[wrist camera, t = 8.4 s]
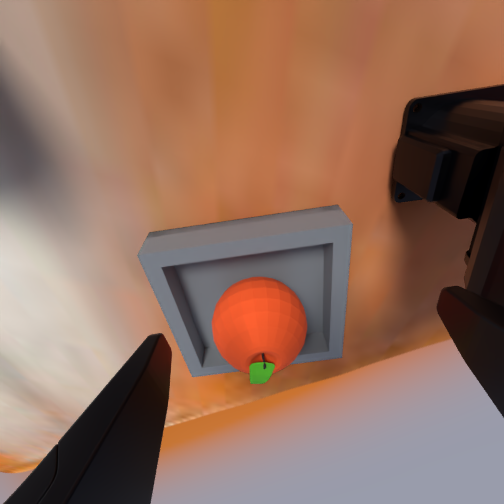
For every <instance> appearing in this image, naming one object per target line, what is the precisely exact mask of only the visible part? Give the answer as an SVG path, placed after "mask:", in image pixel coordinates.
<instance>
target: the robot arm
mask: <svg viewBox="0 0 504 504" xmlns="http://www.w3.org/2000/svg"><path fill="white" fill-rule="evenodd" d="M416 104H418V108H417V110H416V111H415V112H413V108H414V106H415V105H416ZM392 177H393V178H394V182H393V189H392V199H393V200H394V201H396V202H398V203H401V202H408V201H415V200H422V199H424V200H426V201H427V202H433V203H435V204H436V205H438V206H439V207H441V208H442V209H444V210H445V211H447V212H449V213H450V214H452V215H453V216H455V217H456V218H458V219H465V218H468V219H470V220H471V221H473V222H474V223H476V227H475V231H474V234H473V238H472V241H471V245H470V249H469V250H468V251H467V252H466V255H465V258H464V261H465V263H466V265H467V269H466V272H465V276H464V281H465V287H466V289H464V288H462V287H459V286H451V287H445V288H443V289H442V290H441V293H440V296H439V300H438V303H437V312H438V314H439V316H440V318H441V320H442V322H443V323H444V325H445V327H446V329H447V331H448V332H449V334H450V336H451V338H452V340H453V341H454V343H455V345H456V347H457V349H458V351H459V352H460V354H461V356H462V357H463V359H464V360H465V362H466V364H467V365H468V367H469V368H470V369H471V371H472V372H473V374H474V375H475V377H476V378H477V380H478V381H479V383H480V384H481V385H482V387H483V388H484V390H485V391H486V392H487V394H488V396H489V397H490V398H491V400H492V401H493V403H494V404H495V405H496V407H497V409H498V410H499V411H500V413H501V414H502V416H503V417H504V84H501V85H494V86H488V87H482V88H475V89H469V90H462V91H456V92H450V93H443V94H437V95H431V96H424V97H418V98H414V99H412V100H410V101H409V102H408V104H407V105H406V108H405V114H404V120H403V126H402V133H401V137H400V138H399V140H398V144H397V150H396V156H395V163H394V169H393V176H392ZM400 193H402V195H401V196H400V197H398V195H399V194H400ZM171 360H172V351H171V348H170V346H169V344H168V342H167V340H166V338H165V337H164V335H163V334H162V333H158V334H152V335H149V336H148V337H147V338H146V339H145V340H144V342H143V343H142V344H141V345H140V346H139V348H138V349H137V350H136V351H135V352H134V353H133V355H132V356H131V357H130V358H129V359H128V360H127V362H126V363H125V364H124V365H123V366H122V368H121V369H120V370H119V371H118V372H117V373H116V375H115V376H114V377H113V378H112V379H111V380H110V382H109V383H108V384H107V385H106V386H105V387H104V389H103V390H102V391H101V392H100V393H99V395H98V396H97V397H96V398H95V399H94V400H93V402H92V403H91V404H90V405H89V406H88V407H87V409H86V410H85V411H84V412H83V413H82V415H81V416H80V417H79V418H78V419H77V420H76V422H75V423H74V424H73V425H72V426H71V427H70V429H69V430H68V431H67V432H66V433H65V435H64V436H63V437H62V438H61V439H60V440H59V442H58V444H56V445H55V446H54V447H53V448H52V450H51V451H50V452H49V453H48V454H47V456H46V457H45V458H44V459H43V460H42V461H41V462H40V464H39V465H38V466H37V467H36V468H35V469H34V470H33V472H32V473H31V474H30V475H29V476H28V477H27V479H26V480H25V481H24V482H23V483H22V484H21V485H20V486H19V487H18V488H17V490H16V491H15V492H14V493H13V494H12V495H11V496H10V497H9V498H8V499H7V500H6V501H5V502H4V503H3V504H150V503H151V497H152V492H153V486H154V480H155V475H156V469H157V464H158V458H159V452H160V447H161V441H162V436H163V430H164V424H165V419H166V413H167V407H168V400H169V388H170V374H171Z"/></svg>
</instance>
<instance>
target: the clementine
mask: <svg viewBox="0 0 504 504" xmlns="http://www.w3.org/2000/svg"><path fill="white" fill-rule="evenodd" d="M212 332H213V339H214V342H215V344H216V346H217V349H218V350H219V352H220V354H221V356H222V357H223V358H224V359H225V360H226V361H227V362H228V363H229V364H230V365H231V366H233V367H234V368H235V369H237V370H239V371H241V372H245V373H248V374H250V382H251V384H263V383H265V382H267V381H268V380H269V378H270V377H271V375H272V374H273V373H276V372H278V371H280V370H282V369H283V368H285V367H287V366H288V365H290V364H291V363H292V362H293V361H294V360H295V359H296V357H297V356H298V354H299V353H300V351H301V349H302V347H303V345H304V343H305V338H306V333H307V320H306V314H305V310H304V307H303V305H302V303H301V301H300V300H299V298H298V297H297V295H296V294H295V292H294V291H292V290H291V289H290V288H289V287H287V286H286V285H285V284H284V283H282V282H280V281H278V280H275V279H273V278H267V277H251V278H247V279H243V280H241V281H239V282H237V283H235V284H233V285H231V286H230V287H229V288H228V289H227V290H226V291H225V292H224V293H223V295H222V296H221V298H220V299H219V301H218V302H217V304H216V306H215V310H214V314H213V318H212Z"/></svg>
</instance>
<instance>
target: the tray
mask: <svg viewBox="0 0 504 504" xmlns="http://www.w3.org/2000/svg"><path fill="white" fill-rule="evenodd" d="M352 228H353V224H352V222H351V221H350V220H349V218H348V217H347V216H346V215H345V213H344V212H343V211H342V209H341V208H340V207H339V206H338V205H333V206H326V207H319V208H312V209H306V210H299V211H292V212H285V213H278V214H272V215H265V216H258V217H251V218H244V219H238V220H231V221H224V222H217V223H210V224H204V225H197V226H190V227H183V228H176V229H170V230H163V231H156V232H149V234H148V236H147V238H146V240H145V241H144V243H143V245H142V247H141V249H140V251H139V253H138V255H137V256H138V258H139V260H140V262H141V265H142V267H143V269H144V271H145V274H146V276H147V278H148V280H149V282H150V285H151V287H152V289H153V291H154V293H155V296H156V298H157V300H158V302H159V304H160V307H161V309H162V311H163V313H164V316H165V318H166V320H167V322H168V324H169V327H170V329H171V331H172V333H173V335H174V338H175V340H176V342H177V344H178V347H179V349H180V351H181V353H182V355H183V358H184V360H185V362H186V364H187V366H188V369H189V371H190V373H191V375H192V377H198V376H206V375H213V374H221V373H229V372H236V371H239V370H237V369H235V368H234V367H233V366H231V365H230V364H229V363H228V362H227V361H226V360H225V359H224V358H223V357H222V356H221V354H220V352H219V350H218V349H217V346H216V344H215V342H214V339H213V332H212V318H213V314H214V310H215V306H216V304H217V302H218V301H219V299H220V298H221V296H222V295H223V293H224V292H225V291H226V290H227V289H228V288H229V287H230V286H231V285H233V284H235V283H237V282H239V281H241V280H243V279H247V278H251V277H267V278H273V279H275V280H278V281H280V282H282V283H284V284H285V285H286V286H287V287H289V288H290V289H291V290H292V291H294V292H295V294H296V295H297V297H298V298H299V300H300V301H301V303H302V305H303V307H304V310H305V314H306V320H307V333H306V338H305V343H304V345H303V347H302V349H301V351H300V353H299V354H298V356H297V357H296V359H295V360H294V361H293V362H292V363H291V364H298V363H305V362H313V361H321V360H328V359H336V358H342V351H343V338H344V326H345V314H346V302H347V289H348V277H349V265H350V253H351V240H352Z"/></svg>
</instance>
